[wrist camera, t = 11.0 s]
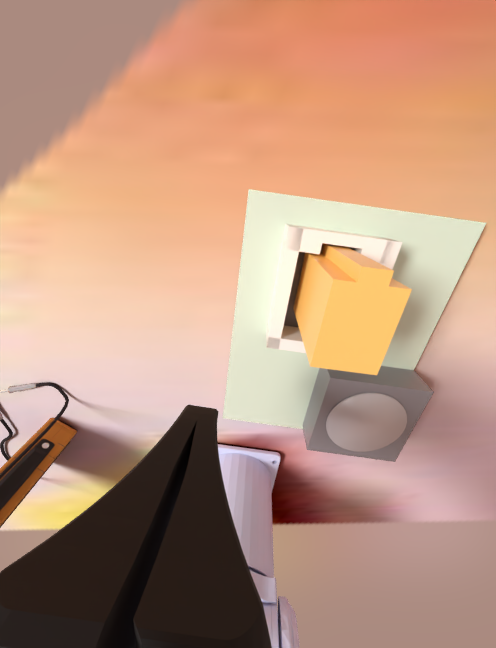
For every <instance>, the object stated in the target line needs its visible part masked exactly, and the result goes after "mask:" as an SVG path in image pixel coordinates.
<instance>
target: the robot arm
mask: <svg viewBox="0 0 496 648" xmlns="http://www.w3.org/2000/svg"><path fill="white" fill-rule="evenodd" d="M217 418H218V411H217V410H216V409H212V408H206V407H199V406H193V405H187V406H186V407H185V408H184V410H183V411H182V413H181V414H180V416H179V417H178V418H177V420H176V421H175V422H174V424H173V425H172V426H171V428H170V429H169V430H168V431H167V432H166V434H165V435H164V436H163V437H162V438H161V440H160V441H159V442H158V443H157V444H156V445H155V446H154V447H153V449H152V450H151V451H150V452H149V453H148V454H147V455H146V456H145V457H144V458H143V459H142V460H141V461H140V462H139V463H138V464H137V465H136V466H135V467H134V468H133V469H132V470H131V471H130V472H129V473H128V474H127V475H126V476H125V477H124V478H123V479H122V480H121V481H120V482H119V483H117V484H116V485H115V486H114V487H113V488H112V489H111V490H109V491H108V492H107V493H106V494H105V495H104V496H102V497H101V498H100V499H99V500H98V501H97V502H95V503H94V504H93V505H92V506H91V507H89V508H88V509H87V510H86V511H84V512H83V513H82V514H80V515H79V516H78V517H76V518H75V519H74V520H72V521H71V522H70V523H69V524H67V525H66V526H65V527H63V528H62V529H61V530H59V531H58V532H57V533H55V534H54V535H53V536H51V537H50V538H49V539H47V540H46V541H44V542H43V543H42V544H40V545H38V546H37V547H36V548H34V549H33V550H31V551H30V552H28V553H27V554H25V555H24V556H23V557H21V558H20V559H18V560H17V561H15V562H14V563H12V564H11V565H9V566H8V567H6V568H5V569H4V570H2V571H1V573H0V648H300V647H299V637H298V629H297V620H296V615H295V611H294V609H293V608H292V607H291V605H290V604H289V603H288V599H287V598H286V597H281V596H279V597H278V614H277V591H276V578H274V564H273V533H272V532H273V528H272V489H273V486H274V482H275V478H276V474H277V471H278V467H279V463H280V460H281V456H280V454H279V453H278V452H272V451H265V450H257V449H250V448H243V447H235V446H228V445H221V444H218V443H217Z"/></svg>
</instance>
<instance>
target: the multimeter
mask: <svg viewBox="0 0 496 648" xmlns="http://www.w3.org/2000/svg"><path fill="white" fill-rule="evenodd" d="M38 386H52V387H54V388H56V389H57V390H59V392H60V393H61V394H62V395H63V396H64V398H65V400H66V402H65V405H64V407H63V408H62V410H61V412H60V413H59V414H58V415H57V417H56V418H50V419H49V420H48V421H47V422H46V423H45V424H44V425H43V426H42V427H41V428H40V429H39V430H38V431H37V433H35V434H34V435H33V436H32V437H31V438H30V439H29V440H28V441H27V442H26V443H25V445H23V446H22V447H21V448H20V449H19V450H18V451H17V452H16V453H15V454H14V455H13V456H12V458H9V457H8V456H7V455H6V453H5V451H4V446H3V444H4V442H5V441H6V440H8V439H9V438H10V437H12V435H13V432H12V430H11V429H10V428H9V426H8V425H7V423H6V422H5V421H4V420H3V417H2V414H1V412H0V421H1V422H2V424H3V425H4V426H5V428H6V429H7V430H8V432H9V436H8V437H7V438H5V439H4V440H2V442H1V443H0V448H1V452H2V454H3V456H4V457H5V458H6V460H7V462H6V463H5V464H4V465H3V466H2V467H1V468H0V527H1V526H2V525H3V524H4V522H5V521H6V520H7V519H8V517H9V516H10V515H11V514H12V513H13V511H14V510H15V509H16V508H17V506H18V505H19V504H20V503H21V502H22V500H23V499H24V498H25V497H26V495H27V494H28V493H29V492H30V490H31V489H32V488H33V487H34V486H35V484H36V483H37V482H38V481H39V479H40V478H41V477H42V476H43V475H44V473H45V472H46V471H47V470H48V468H49V467H50V466H51V465H52V463H53V462H54V461H55V460H56V459H57V457H58V456H59V455H60V454H61V452H62V451H63V450H64V449H65V447H66V446H67V445H68V444H69V443H70V440H71V439H72V438H73V437H74V435H75V434H76V433H77V431H76V430H75V429H73V428H71V427H69V426H67V425H66V424H64V423H62V422H60V421H58V419H59V418H60V416H61V415H62V414H63V413H64V411H65V409H66V408H67V405H68V402H69V399H68V397H67V395H66V394H65V393H64V391H63V390H62V389H61V388H60V387H59V386H57V385H55V384H53V383H39V384H37V383H32V384H26V385H20V386H10V387H9V388H8V389H6V390H0V393H1V392H7V391H8V392H9V393H13V392H16V391H22V390H28V389H33V388H36V387H38Z"/></svg>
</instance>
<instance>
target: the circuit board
mask: <svg viewBox="0 0 496 648" xmlns="http://www.w3.org/2000/svg"><path fill="white" fill-rule="evenodd" d="M285 224H292V225H299V226H306V227H313V228H320V229H327V230H335V231H342V232H349V233H356V234H363V235H370V236H377V237H384V238H388V239H392V240H396V241H399V242H402V245H401V248H400V251H399V253H398V256H397V259H396V261H395V264H394V267H393V269H392V270H394V273H393V276H392V278H393V279H394V280H396V281H398V282H400V283H402V284H403V285H405V286H407V287H409V288H410V289H412V291H411V293H410V296H409V298H408V301H407V303H406V306H405V308H404V311H403V313H402V315H401V318H400V320H399V323H398V325H397V328H396V330H395V333H394V335H393V337H392V340H391V342H390V345H389V347H388V350H387V352H386V355H385V357H384V359H383V362H382V364H381V366H387V367H394V368H401V369H408V370H414V369H415V367H416V365H417V363H418V361H419V359H420V357H421V355H422V353H423V351H424V349H425V347H426V345H427V342H428V340H429V338H430V336H431V334H432V332H433V330H434V328H435V326H436V324H437V322H438V320H439V318H440V316H441V314H442V312H443V310H444V308H445V306H446V304H447V302H448V300H449V298H450V296H451V294H452V292H453V290H454V288H455V286H456V284H457V282H458V279H459V277H460V275H461V273H462V271H463V269H464V267H465V265H466V263H467V261H468V259H469V257H470V255H471V253H472V251H473V249H474V247H475V245H476V243H477V241H478V239H479V237H480V235H481V233H482V231H483V229H484V227H485V225H486V223H483V222H476V221H469V220H462V219H455V218H448V217H441V216H434V215H427V214H419V213H412V212H405V211H398V210H391V209H384V208H377V207H370V206H363V205H356V204H349V203H342V202H335V201H328V200H321V199H314V198H307V197H299V196H292V195H285V194H278V193H271V192H264V191H257V190H250V189H249V192H248V201H247V210H246V218H245V227H244V236H243V245H242V253H241V262H240V271H239V280H238V288H237V297H236V306H235V315H234V323H233V332H232V341H231V350H230V358H229V367H228V376H227V385H226V393H225V402H224V411H223V418H225V419H232V420H239V421H246V422H254V423H261V424H268V425H276V426H283V427H290V428H298V429H303V422H304V418H305V415H306V412H307V408H308V405H309V401H310V398H311V395H312V391H313V388H314V385H315V381H316V378H317V375H318V371H319V368H317V367H310V364H309V361H308V357H307V354H306V353H301V352H294V351H287V350H280V349H272V348H266V330H267V325H268V319H269V314H270V308H271V302H272V297H273V291H274V285H275V280H276V274H277V269H278V263H279V257H280V252H281V246H282V240H283V235H284V229H285ZM348 248H349V247H348Z"/></svg>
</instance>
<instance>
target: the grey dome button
mask: <svg viewBox="0 0 496 648" xmlns="http://www.w3.org/2000/svg"><path fill="white" fill-rule="evenodd" d="M433 393H434V392H433V391H432V390H431V389H430V387H429V386H428V385H427V384H426V383H425V382H424V381H423V380H422V379H421V378H420V376H419V375H418V374H417V373H416V372H415V371H414V370H408V369H401V368H394V367H387V366H381V367H380V369H379V372H378V374H377V375H371V374H363V373H355V372H348V371H340V370H332V369H325V368H319V371H318V375H317V378H316V381H315V385H314V388H313V391H312V395H311V398H310V401H309V405H308V408H307V412H306V415H305V418H304V422H303V430H304V436H305V442H306V447H307V450H313V451H320V452H327V453H335V454H342V455H349V456H357V457H364V458H371V459H379V460H386V461H393V462H395V461H396V459H397V457H398V455H399V454H400V452H401V450H402V448H403V446H404V445H405V443H406V441H407V439H408V437H409V436H410V434H411V432H412V430H413V428H414V427H415V425H416V423H417V421H418V419H419V418H420V416H421V414H422V412H423V410H424V409H425V407H426V405H427V403H428V402H429V400H430V398H431V396H432V394H433Z"/></svg>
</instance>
